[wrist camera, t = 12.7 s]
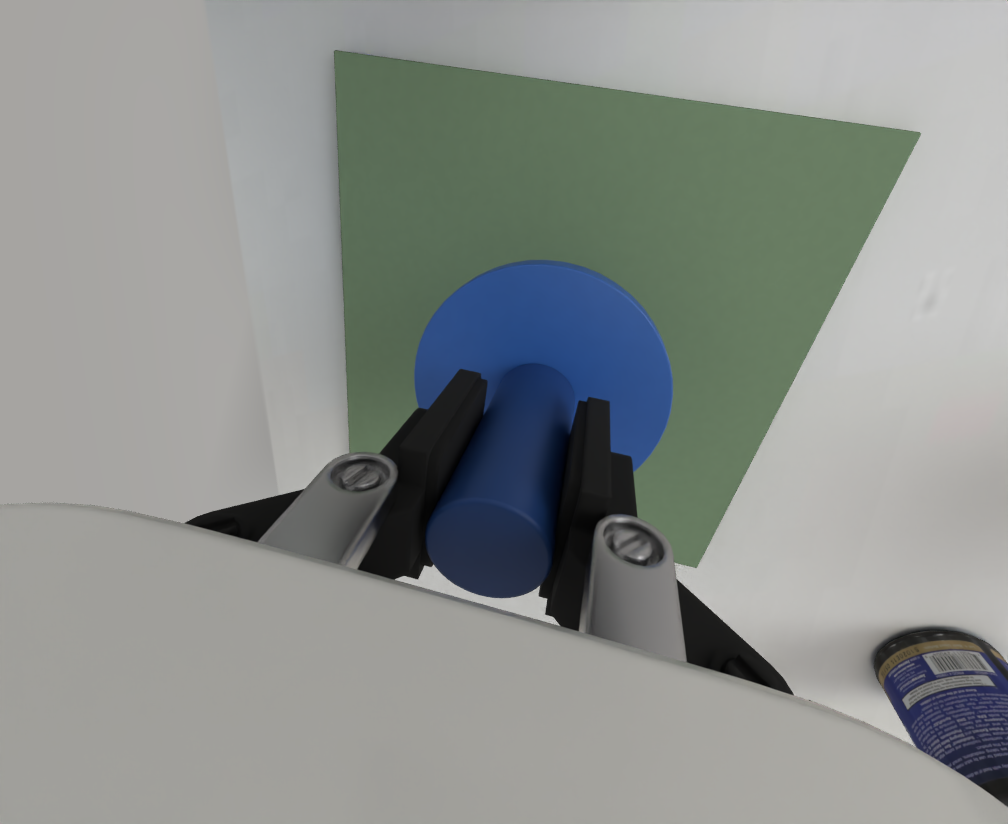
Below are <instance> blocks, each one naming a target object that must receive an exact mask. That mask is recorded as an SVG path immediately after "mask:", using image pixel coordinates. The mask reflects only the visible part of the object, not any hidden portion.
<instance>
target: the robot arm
mask: <svg viewBox="0 0 1008 824" xmlns="http://www.w3.org/2000/svg"><path fill="white" fill-rule="evenodd" d="M487 384H488V381H487V380H485V379H481V373H478V372H474V371H469V370H465V369H459V371H458V372H457V373H456V374H455V376H454V377H453V378H452V380H451V381H450V382H449V383H448V385H447V386H446V387H445V388H444V390H443V391H442V392H441V394H440V395H439V396H438V397H437V399H436V400H435V401H434V403H433V404H432V405H431V406H430V408H429V409H424V408H417V409H416V410H415V411H414V412H413V413H412V415H411V416H410V417H409V418H408V419H407V421H406V422H405V423H404V424H403V425H402V427H401V428H400V429H399V430H398V431H397V433H396V434H395V435H394V436H393V437H392V439H391V440H390V441H389V442H388V443H387V445H386V446H385V447H384V448H383V449H382V451H381V452H380V453H379V454H378V453H372V452H353V453H349V454H345V455H342V456H340V457H337V458H335V459H333V460H332V461H331V462H330V463H328V464H327V465H326V466H325V467H324V468H323V469H322V471H321V472H320V473H319V474H318V475H317V476H316V477H315V478H314V479H313V481H312V482H311V483H310V484H309V485H308V486H307V487H306V488H305V489H303V490H299V491H295V492H291V493H287V494H283V495H278V496H274V497H270V498H266V499H262V500H258V501H254V502H250V503H246V504H241V505H237V506H233V507H230V508H225V509H221V510H217V511H213V512H209V513H206V514H203V515H200V516H197V517H195V518H193V519H192V520H190V521H188V522H186V523H180V522H175V521H171V520H166V519H162V518H158V517H154V516H149V515H145V514H140V513H136V512H132V511H127V510H121V509H114V508H108V507H101V506H95V505H83V504H66V503H25V504H24V503H23V504H4V505H0V824H1008V807H1007V806H1005V805H1004V804H1003V803H1001V802H1000V801H999V800H997V799H996V798H995V797H993V796H992V795H991V794H989V793H988V792H986V791H985V790H984V789H982V788H981V787H979V786H978V785H976V784H975V783H973V782H972V781H970V780H969V779H967V778H966V777H965V776H963V775H961V774H960V773H958V772H956V771H955V770H953V769H951V768H950V767H948V766H946V765H945V764H943V763H941V762H940V761H938V760H936V759H935V758H933V757H931V756H929V755H928V754H926V753H924V752H923V751H921V750H919V749H918V748H916V747H914V746H913V745H911V744H909V743H907V742H905V741H903V740H901V739H899V738H896V737H894V736H892V735H890V734H888V733H886V732H884V731H882V730H880V729H878V728H876V727H874V726H872V725H870V724H868V723H866V722H863V721H861V720H858V719H856V718H853V717H851V716H848V715H846V714H843V713H841V712H838V711H836V710H833V709H831V708H828V707H826V706H823V705H821V704H818V703H815V702H812V701H811V700H806V699H803V698H800V697H797V696H794V694H793V692H792V691H791V689H790V688H789V686H788V685H787V683H786V681H785V680H784V678H783V677H782V676H781V675H780V674H779V673H778V672H777V671H776V670H775V669H774V668H773V666H772V665H771V664H770V663H768V662H767V661H766V660H765V659H764V658H763V657H762V656H761V655H760V654H759V653H757V652H756V651H755V650H754V649H753V648H752V647H751V646H750V645H749V644H748V643H746V642H745V641H744V640H743V639H742V638H741V637H740V636H739V635H738V634H737V633H735V632H734V631H733V630H732V629H731V628H730V627H729V626H728V625H727V624H726V623H724V622H723V621H722V620H721V619H720V618H719V617H718V616H717V615H716V614H714V613H713V612H712V611H711V610H710V609H709V608H708V607H707V606H706V605H705V604H703V603H702V602H701V601H700V600H699V599H698V598H697V597H696V596H695V595H694V594H692V593H691V592H690V591H689V590H688V589H687V588H686V587H685V586H684V585H683V584H681V583H680V582H679V581H678V580H677V579H676V571H675V563H674V555H673V551H672V547H671V544H670V543H669V541H668V540H667V538H666V537H665V535H664V534H663V533H662V532H660V531H659V530H658V529H657V528H656V527H655V526H653V525H651V524H650V523H648V522H646V521H645V520H642V519H640V518H638V516H637V505H636V495H635V485H634V474H633V464H632V458H631V456H628V455H623V454H619V453H615V452H611V440H610V401H607V400H602V399H598V398H593V397H588V399H587V402H585V401H581V400H579V402H578V405H577V409H576V413H575V417H574V421H573V424H572V428H571V432H570V437H569V444H568V451H567V458H566V465H565V472H564V479H563V486H562V493H561V500H560V507H559V514H558V521H557V529H556V536H555V552H554V559H553V565H552V568H551V571H550V573H549V575H548V576H547V578H546V579H545V580H544V582H543V583H542V584H541V585H540V590H539V596H540V597H543V598H547V606H546V613H545V615H549V616H552V617H554V618H555V620H556V621H557V622H558V623H559V625H560V626H557V625H554V624H550V623H547V622H543V621H540V620H536V619H533V618H529V617H526V616H522V615H519V614H515V613H511V612H508V611H504V610H501V609H497V608H494V607H490V606H486V605H483V604H479V603H476V602H472V601H468V600H465V599H461V598H458V597H454V596H451V595H447V594H443V593H440V592H436V591H433V590H429V589H425V588H422V587H418V586H414V585H411V584H407V583H404V582H400V581H396V580H395V579H396V578H399V577H401V576H407V577H411V578H414V579H418V578H419V576H420V574H421V572H422V570H423V567H424V565H425V566H429V567H432V566H433V562H432V561H431V559H430V557H429V555H428V552H427V549H426V544H425V529H426V525H427V522H428V520H429V518H430V516H431V514H432V512H433V510H434V509H435V507H436V505H437V503H438V501H439V499H440V497H441V495H442V493H443V492H444V490H445V488H446V486H447V484H448V482H449V480H450V478H451V476H452V474H453V472H454V471H455V469H456V467H457V465H458V463H459V461H460V459H461V457H462V455H463V453H464V451H465V450H466V448H467V446H468V444H469V442H470V440H471V438H472V436H473V434H474V432H475V431H476V429H477V427H478V425H479V423H480V421H481V419H482V417H483V414H484V407H485V399H486V392H487Z"/></svg>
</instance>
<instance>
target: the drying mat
mask: <svg viewBox="0 0 1008 824" xmlns="http://www.w3.org/2000/svg"><path fill="white" fill-rule="evenodd" d="M334 64H335V90H336V116H337V141H338V167H339V193H340V219H341V244H342V270H343V296H344V321H345V347H346V373H347V398H348V424H349V450H350V453H353V452H372V453H378V454H379V453H380V452H381V451H382V449H383V448H384V447H385V446H386V445H387V443H388V442H389V441H390V440H391V439H392V437H393V436H394V435H395V434H396V433H397V431H398V430H399V429H400V428H401V427H402V425H403V424H404V423H405V422H406V421H407V419H408V418H409V417H410V416H411V415H412V413H413V412H414V411H415V410H416V409H417V408H419V407H418V403H417V399H416V393H415V385H414V368H415V360H416V354H417V350H418V346H419V342H420V340H421V337H422V335H423V333H424V330H425V328H426V326H427V324H428V323H429V321H430V319H431V318H432V316H433V314H434V313H435V312H436V311H437V309H438V308H439V307H440V306H441V305H442V303H443V302H444V301H445V300H446V299H447V298H448V297H450V296H451V295H452V294H453V293H454V292H455V291H456V290H457V289H459V288H460V287H462V286H463V285H464V284H466V283H467V282H469V281H470V280H472V279H473V278H475V277H476V276H478V275H480V274H482V273H484V272H487V271H489V270H491V269H493V268H496V267H499V266H502V265H506V264H509V263H514V262H520V261H526V260H553V261H561V262H567V263H571V264H575V265H579V266H583V267H585V268H588V269H590V270H593V271H595V272H597V273H600V274H602V275H603V276H605V277H607V278H609V279H610V280H612V281H614V282H615V283H617V284H618V285H620V286H621V287H622V288H623V289H625V290H626V291H627V292H628V293H630V294H631V295H632V296H633V297H634V298H635V299H636V300H637V301H638V302H639V303H640V305H641V306H642V307H643V308H644V309H645V310H646V312H647V313H648V315H649V316H650V318H651V319H652V320H653V322H654V324H655V326H656V328H657V330H658V331H659V333H660V335H661V337H662V340H663V343H664V346H665V349H666V352H667V355H668V358H669V361H670V365H671V371H672V377H673V399H672V407H671V413H670V416H669V419H668V423H667V426H666V429H665V431H664V433H663V435H662V437H661V439H660V441H659V443H658V444H657V446H656V447H655V449H654V450H653V452H652V454H651V455H650V456H649V457H648V458H647V459H646V461H645V462H644V463H643V464H642V465H641V466H640V467H639V468H638V469H637V470H636V471H634V472H633V474H634V485H635V495H636V505H637V516H638V518H640V519H642V520H645V521H646V522H648V523H650V524H651V525H653V526H655V527H656V528H657V529H658V530H659V531H660V532H662V533H663V534H664V535H665V537H666V538H667V540H668V541H669V543H670V544H671V547H672V551H673V555H674V562H675V563H678V564H682V565H686V566H690V567H694V568H697V566H698V564H699V562H700V560H701V558H702V556H703V555H704V553H705V551H706V549H707V547H708V545H709V543H710V541H711V539H712V537H713V535H714V533H715V531H716V529H717V527H718V526H719V524H720V522H721V520H722V518H723V516H724V514H725V512H726V510H727V508H728V506H729V504H730V502H731V500H732V498H733V497H734V495H735V493H736V491H737V489H738V487H739V485H740V483H741V481H742V479H743V477H744V475H745V473H746V471H747V469H748V468H749V466H750V464H751V462H752V460H753V458H754V456H755V454H756V452H757V450H758V448H759V446H760V444H761V442H762V440H763V439H764V437H765V435H766V433H767V431H768V429H769V427H770V425H771V423H772V421H773V419H774V417H775V415H776V413H777V411H778V410H779V408H780V406H781V404H782V402H783V400H784V398H785V396H786V394H787V392H788V390H789V388H790V386H791V384H792V382H793V381H794V379H795V377H796V375H797V373H798V371H799V369H800V367H801V365H802V363H803V361H804V359H805V357H806V355H807V353H808V352H809V350H810V348H811V346H812V344H813V342H814V340H815V338H816V336H817V334H818V332H819V330H820V328H821V326H822V324H823V323H824V321H825V319H826V317H827V315H828V313H829V311H830V309H831V307H832V305H833V303H834V301H835V299H836V297H837V296H838V294H839V292H840V290H841V288H842V286H843V284H844V282H845V280H846V278H847V276H848V274H849V272H850V270H851V268H852V267H853V265H854V263H855V261H856V259H857V257H858V255H859V253H860V251H861V249H862V247H863V245H864V243H865V241H866V239H867V238H868V236H869V234H870V232H871V230H872V228H873V226H874V224H875V222H876V220H877V218H878V216H879V214H880V212H881V210H882V209H883V207H884V205H885V203H886V201H887V199H888V197H889V195H890V193H891V191H892V189H893V187H894V185H895V183H896V181H897V180H898V178H899V176H900V174H901V172H902V170H903V168H904V166H905V164H906V162H907V160H908V158H909V156H910V154H911V152H912V151H913V149H914V147H915V145H916V143H917V141H918V139H919V137H920V135H921V133H920V132H914V131H907V130H900V129H892V128H885V127H878V126H871V125H864V124H857V123H850V122H843V121H836V120H828V119H821V118H814V117H807V116H800V115H793V114H786V113H779V112H771V111H764V110H757V109H750V108H743V107H736V106H729V105H722V104H714V103H707V102H700V101H693V100H686V99H679V98H672V97H665V96H657V95H650V94H643V93H636V92H629V91H622V90H615V89H608V88H600V87H593V86H586V85H579V84H572V83H565V82H558V81H551V80H543V79H536V78H529V77H522V76H515V75H508V74H501V73H494V72H486V71H479V70H472V69H465V68H458V67H451V66H444V65H437V64H429V63H422V62H415V61H408V60H401V59H394V58H387V57H380V56H373V55H365V54H358V53H351V52H344V51H337V50H335V51H334Z"/></svg>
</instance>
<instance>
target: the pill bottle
mask: <svg viewBox="0 0 1008 824" xmlns="http://www.w3.org/2000/svg"><path fill="white" fill-rule="evenodd" d="M874 669H875V672H876V676H877V679H878V681H879V683H880V684H881V686H882V688H883V689H884V691H885V693H886V695H887V697H888V698H889V700H890V702H891V704H892V705H893V707H894V709H895V711H896V712H897V714H898V716H899V718H900V720H901V721H902V723H903V725H904V727H905V728H906V731H907V732H908V734H909V736H910V738H911V739H912V741H913V743H914V744H915V746H916V748H918V749H919V750H921V751H923V752H924V753H926V754H928V755H929V756H931V757H933V758H935V759H936V760H938V761H940V762H941V763H943V764H945V765H946V766H948V767H950V768H951V769H953V770H955V771H956V772H958V773H960V774H961V775H963V776H965V777H966V778H967V779H969V780H970V781H972V782H973V783H975V784H976V785H978V786H979V787H981V788H982V789H984V790H985V791H986V792H988V793H989V794H991V795H992V796H993V797H995V798H996V799H997V800H999V801H1000V802H1001V803H1003V804H1004V805H1005V806H1007V807H1008V663H1007V662H1006V661H1005V660H1004V658H1003V657H1002V656H1001V654H1000V653H999V652H998V651H997V650H996V649H995V648H993V647H992V646H991V645H990V644H988V643H987V642H985V641H983V640H981V639H978V638H976V637H974V636H971V635H967V634H963V633H959V632H953V631H922V632H917V633H911V634H908V635H905V636H902V637H900V638H897V639H896V640H894V641H891V642H889V643H888V644H887V645H886V646H885V647H883V648H882V649H881V650H880V651H879V652H878V654H877V656H876V659H875V663H874Z"/></svg>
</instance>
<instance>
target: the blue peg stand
mask: <svg viewBox="0 0 1008 824" xmlns="http://www.w3.org/2000/svg"><path fill="white" fill-rule="evenodd" d="M459 369H465V370H469V371H474V372H478V373H481V379H485V380H487V381H488V384H487V392H486V399H485V407H484V414H483V417H482V419H481V421H480V423H479V425H478V427H477V429H476V431H475V432H474V434H473V436H472V438H471V440H470V442H469V444H468V446H467V448H466V450H465V451H464V453H463V455H462V457H461V459H460V461H459V463H458V465H457V467H456V469H455V471H454V472H453V474H452V476H451V478H450V480H449V482H448V484H447V486H446V488H445V490H444V492H443V493H442V495H441V497H440V499H439V501H438V503H437V505H436V507H435V509H434V510H433V512H432V514H431V516H430V518H429V520H428V522H427V525H426V529H425V544H426V549H427V552H428V555H429V557H430V559H431V561H432V562H433V564H434V565H435V567H436V568H437V569H438V570H439V571H440V572H441V573H442V574H443V575H444V576H445V577H446V578H447V579H448V580H450V581H451V582H452V583H454V584H455V585H457V586H459V587H461V588H463V589H464V590H467V591H469V592H472V593H475V594H478V595H481V596H486V597H492V598H511V597H517V596H521V595H524V594H527V593H529V592H531V591H533V590H534V589H536V588H537V587H538V586H540V585H541V584H542V583H543V582H544V580H545V579H546V578H547V576H548V575H549V573H550V571H551V568H552V565H553V559H554V552H555V536H556V529H557V521H558V514H559V507H560V500H561V493H562V486H563V479H564V472H565V465H566V458H567V451H568V444H569V437H570V432H571V428H572V424H573V421H574V417H575V413H576V409H577V405H578V402H579V400H581V401H585V402H587V399H588V397H593V398H598V399H602V400H607V401H610V440H611V452H615V453H619V454H623V455H628V456H631V458H632V464H633V472H634V471H636V470H637V469H638V468H639V467H640V466H641V465H642V464H643V463H644V462H645V461H646V459H647V458H648V457H649V456H650V455H651V454H652V452H653V450H654V449H655V447H656V446H657V444H658V443H659V441H660V439H661V437H662V435H663V433H664V431H665V429H666V426H667V423H668V419H669V416H670V413H671V407H672V399H673V377H672V371H671V365H670V361H669V358H668V355H667V352H666V349H665V346H664V343H663V340H662V337H661V335H660V333H659V331H658V330H657V328H656V326H655V324H654V322H653V320H652V319H651V318H650V316H649V315H648V313H647V312H646V310H645V309H644V308H643V307H642V306H641V305H640V303H639V302H638V301H637V300H636V299H635V298H634V297H633V296H632V295H631V294H630V293H628V292H627V291H626V290H625V289H623V288H622V287H621V286H620V285H618V284H617V283H615V282H614V281H612V280H610V279H609V278H607V277H605V276H603V275H602V274H600V273H597V272H595V271H593V270H590V269H588V268H585V267H583V266H579V265H575V264H571V263H567V262H561V261H553V260H526V261H520V262H514V263H509V264H506V265H502V266H499V267H496V268H493V269H491V270H489V271H487V272H484V273H482V274H480V275H478V276H476V277H475V278H473V279H472V280H470V281H469V282H467V283H466V284H464V285H463V286H462V287H460V288H459V289H457V290H456V291H455V292H454V293H453V294H452V295H451V296H450V297H448V298H447V299H446V300H445V301H444V302H443V303H442V305H441V306H440V307H439V308H438V309H437V311H436V312H435V313H434V314H433V316H432V318H431V319H430V321H429V323H428V324H427V326H426V328H425V330H424V333H423V335H422V337H421V340H420V342H419V346H418V350H417V354H416V360H415V368H414V385H415V393H416V399H417V403H418V407H419V408H424V409H429V408H430V406H431V405H432V404H433V403H434V401H435V400H436V399H437V397H438V396H439V395H440V394H441V392H442V391H443V390H444V388H445V387H446V386H447V385H448V383H449V382H450V381H451V380H452V378H453V377H454V376H455V374H456V373H457V372H458V371H459Z"/></svg>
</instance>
